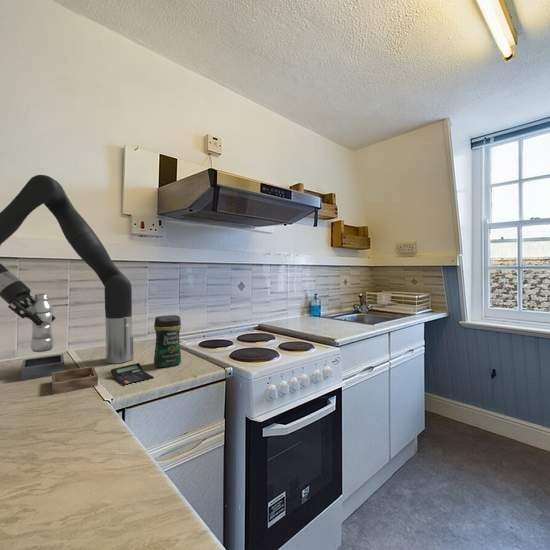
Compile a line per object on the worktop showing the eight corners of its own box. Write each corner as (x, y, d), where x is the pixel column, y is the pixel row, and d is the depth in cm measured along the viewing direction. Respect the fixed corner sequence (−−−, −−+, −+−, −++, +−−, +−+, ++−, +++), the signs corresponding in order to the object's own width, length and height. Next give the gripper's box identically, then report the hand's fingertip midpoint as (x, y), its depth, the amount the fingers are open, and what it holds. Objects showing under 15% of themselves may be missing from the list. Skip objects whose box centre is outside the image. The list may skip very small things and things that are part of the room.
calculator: (124, 387, 98) (124, 377, 98) (110, 377, 106) (110, 368, 106) (153, 379, 105) (153, 370, 105) (138, 370, 113) (138, 362, 113)
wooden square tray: (93, 374, 108) (93, 366, 108) (97, 385, 99) (97, 376, 98) (52, 382, 101) (51, 372, 101) (52, 394, 92) (52, 384, 92)
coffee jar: (156, 369, 113) (156, 318, 113) (152, 363, 120) (151, 315, 119) (183, 365, 119) (183, 316, 118) (178, 359, 125) (177, 313, 125)
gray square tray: (63, 364, 118) (62, 354, 118) (64, 373, 109) (64, 362, 109) (23, 370, 111) (23, 359, 111) (21, 380, 102) (21, 368, 102)
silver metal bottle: (41, 354, 106) (41, 295, 105) (25, 353, 107) (24, 294, 107) (58, 349, 112) (58, 293, 112) (42, 348, 114) (42, 293, 113)
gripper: (2, 281, 101) (42, 318, 103) (32, 279, 115) (67, 311, 117) (-16, 297, 101) (25, 334, 102) (16, 293, 115) (51, 325, 117)
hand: (47, 322), depth 110 cm, fingers closed on silver metal bottle, 6 cm apart
